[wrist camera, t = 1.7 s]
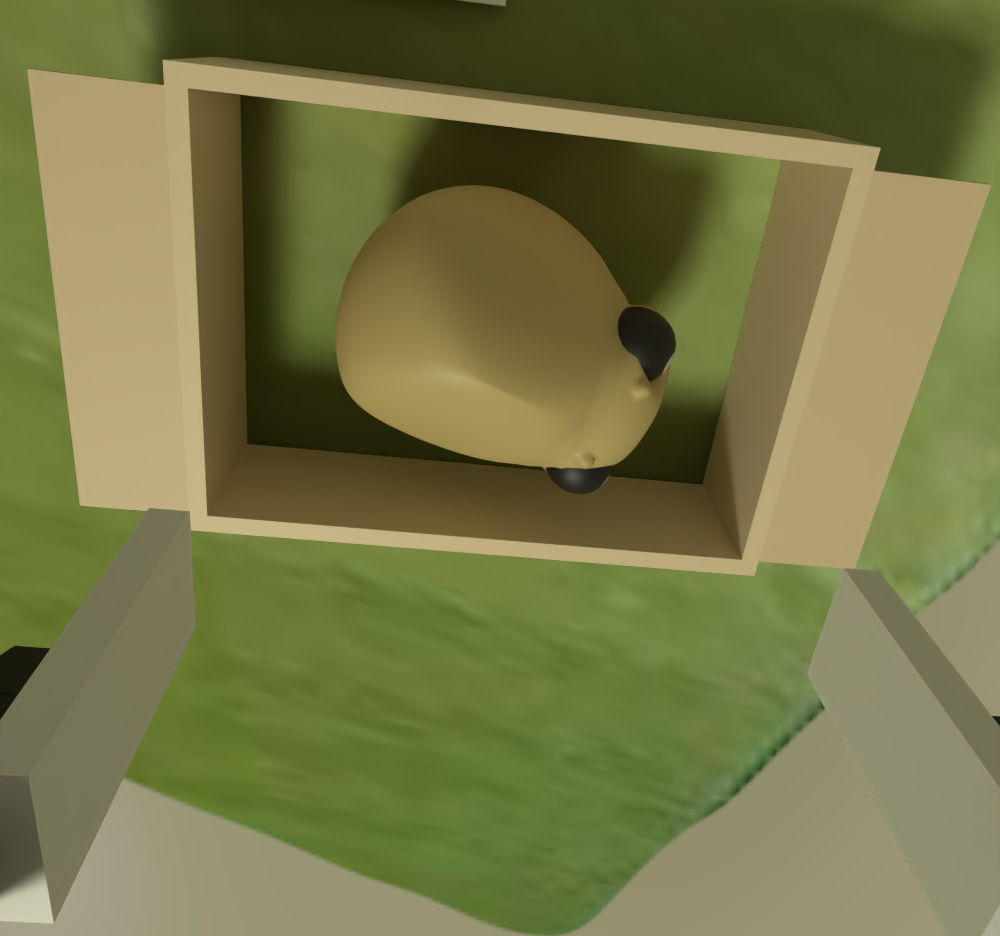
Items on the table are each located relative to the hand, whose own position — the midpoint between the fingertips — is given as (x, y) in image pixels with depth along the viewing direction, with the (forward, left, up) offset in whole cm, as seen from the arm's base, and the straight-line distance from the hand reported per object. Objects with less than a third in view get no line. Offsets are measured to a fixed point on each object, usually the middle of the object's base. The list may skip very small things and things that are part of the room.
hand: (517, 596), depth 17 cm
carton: (0, 0, -21) cm, 21 cm away
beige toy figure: (0, 0, -21) cm, 21 cm away
